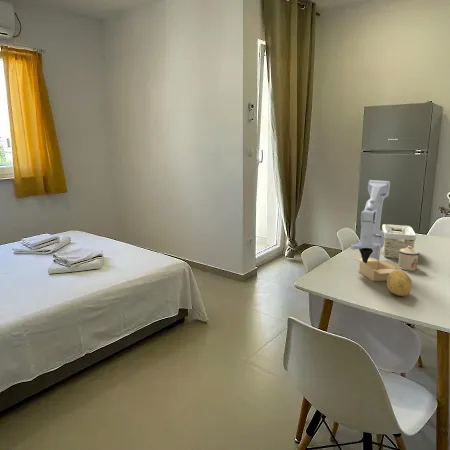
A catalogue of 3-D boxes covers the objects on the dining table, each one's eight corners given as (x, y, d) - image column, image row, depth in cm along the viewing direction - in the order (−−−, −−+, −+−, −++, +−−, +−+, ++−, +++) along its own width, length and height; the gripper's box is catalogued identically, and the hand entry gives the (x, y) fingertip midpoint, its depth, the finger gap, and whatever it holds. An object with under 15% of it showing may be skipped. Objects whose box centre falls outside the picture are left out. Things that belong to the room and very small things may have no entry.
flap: (360, 261, 178) (360, 262, 178) (353, 256, 177) (353, 257, 177) (372, 268, 168) (372, 269, 168) (365, 263, 167) (364, 264, 167)
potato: (413, 291, 157) (415, 270, 155) (407, 302, 146) (409, 280, 144) (388, 285, 163) (390, 265, 161) (380, 296, 151) (382, 274, 149)
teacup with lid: (414, 272, 180) (417, 249, 178) (395, 268, 186) (397, 246, 184) (420, 266, 190) (423, 244, 187) (401, 262, 195) (404, 241, 193)
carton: (354, 268, 185) (355, 253, 183) (380, 267, 187) (382, 252, 186) (379, 285, 164) (380, 268, 162) (409, 283, 166) (411, 266, 164)
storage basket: (413, 261, 199) (417, 234, 195) (381, 257, 204) (384, 232, 201) (408, 249, 221) (411, 225, 217) (379, 246, 226) (381, 223, 223)
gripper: (357, 238, 165) (354, 266, 168) (386, 237, 168) (383, 265, 171) (349, 234, 172) (347, 261, 175) (377, 233, 174) (374, 260, 177)
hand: (364, 263), depth 173 cm, fingers closed, pressing on flap
